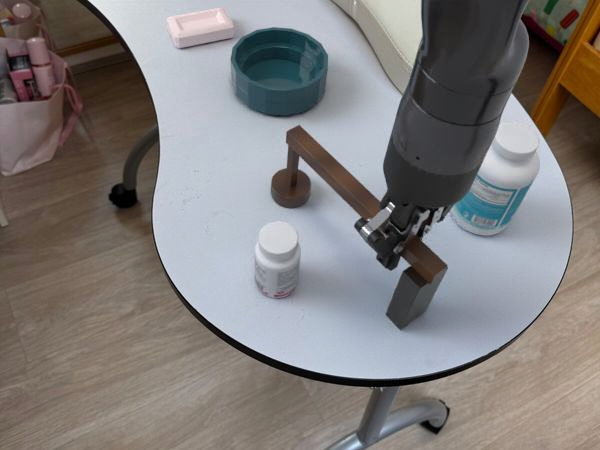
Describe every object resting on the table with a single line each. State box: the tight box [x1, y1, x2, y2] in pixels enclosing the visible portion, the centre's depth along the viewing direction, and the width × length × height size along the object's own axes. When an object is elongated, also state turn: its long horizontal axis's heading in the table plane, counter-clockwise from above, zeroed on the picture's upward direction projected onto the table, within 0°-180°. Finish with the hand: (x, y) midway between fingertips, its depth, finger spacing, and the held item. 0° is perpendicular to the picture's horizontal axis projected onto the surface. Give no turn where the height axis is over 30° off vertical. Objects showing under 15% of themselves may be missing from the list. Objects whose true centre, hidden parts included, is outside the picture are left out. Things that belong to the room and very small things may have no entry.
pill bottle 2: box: [450, 121, 541, 236], centre depth 67 cm, size 8×7×14 cm
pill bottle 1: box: [254, 220, 302, 299], centre depth 62 cm, size 5×5×8 cm
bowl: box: [230, 26, 329, 116], centre depth 82 cm, size 13×13×5 cm
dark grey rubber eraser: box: [385, 265, 449, 331], centre depth 60 cm, size 2×4×9 cm, turn 128°
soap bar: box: [165, 6, 235, 49], centre depth 89 cm, size 5×9×2 cm, turn 113°
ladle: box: [270, 124, 449, 285], centre depth 64 cm, size 24×5×11 cm, turn 38°
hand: (396, 256), depth 60 cm, fingers closed
